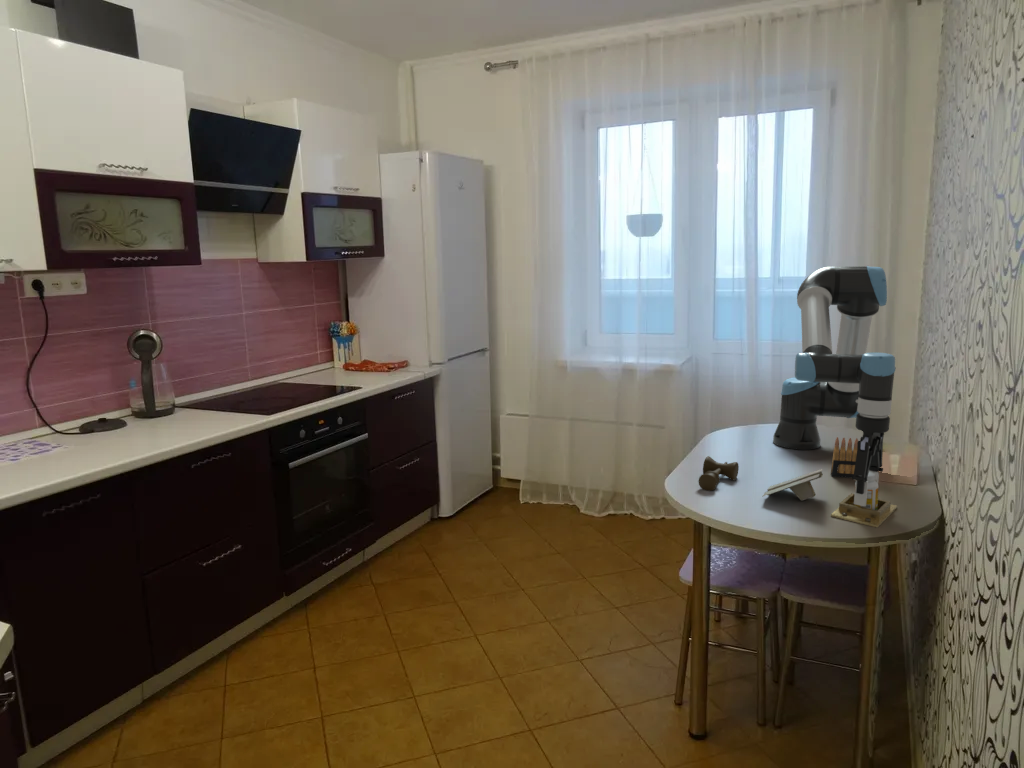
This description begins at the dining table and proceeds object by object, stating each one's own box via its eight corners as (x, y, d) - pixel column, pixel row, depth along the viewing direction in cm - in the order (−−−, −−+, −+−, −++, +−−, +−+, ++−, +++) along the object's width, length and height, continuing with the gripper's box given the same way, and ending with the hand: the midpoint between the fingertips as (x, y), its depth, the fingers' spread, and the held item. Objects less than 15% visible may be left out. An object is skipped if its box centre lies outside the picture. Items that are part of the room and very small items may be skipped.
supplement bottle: (867, 504, 182) (868, 469, 180) (882, 511, 177) (884, 475, 175) (849, 507, 181) (850, 471, 179) (864, 514, 176) (865, 478, 174)
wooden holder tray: (852, 498, 189) (853, 489, 189) (896, 507, 182) (897, 498, 181) (830, 516, 177) (831, 506, 177) (877, 527, 170) (878, 517, 169)
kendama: (689, 489, 199) (710, 468, 216) (723, 496, 194) (742, 474, 211) (690, 470, 198) (711, 450, 214) (724, 476, 193) (743, 456, 209)
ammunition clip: (831, 476, 207) (834, 437, 204) (830, 474, 209) (833, 436, 206) (870, 479, 204) (874, 440, 202) (869, 477, 206) (873, 438, 203)
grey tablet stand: (781, 524, 183) (831, 493, 177) (760, 496, 185) (809, 465, 179) (788, 512, 197) (835, 483, 191) (769, 486, 200) (814, 457, 194)
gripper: (870, 404, 184) (862, 485, 189) (843, 420, 169) (836, 508, 174) (901, 409, 179) (893, 492, 184) (876, 425, 164) (868, 515, 169)
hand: (865, 499), depth 179 cm, fingers open, 8 cm apart
